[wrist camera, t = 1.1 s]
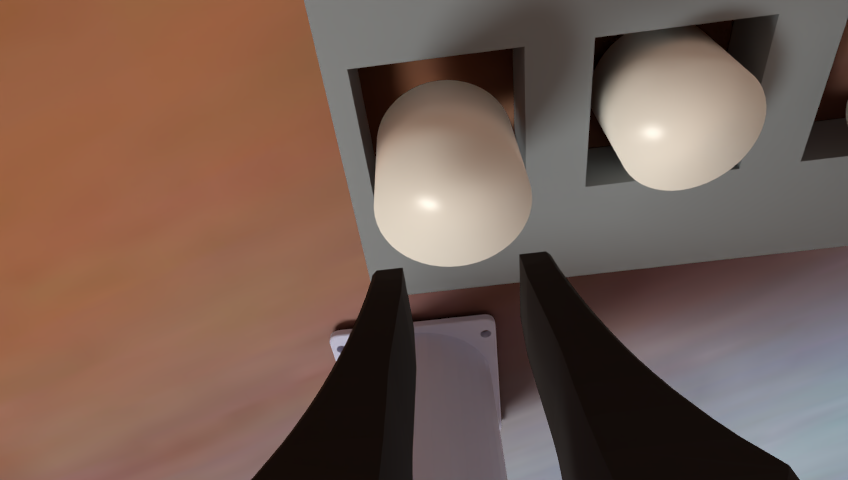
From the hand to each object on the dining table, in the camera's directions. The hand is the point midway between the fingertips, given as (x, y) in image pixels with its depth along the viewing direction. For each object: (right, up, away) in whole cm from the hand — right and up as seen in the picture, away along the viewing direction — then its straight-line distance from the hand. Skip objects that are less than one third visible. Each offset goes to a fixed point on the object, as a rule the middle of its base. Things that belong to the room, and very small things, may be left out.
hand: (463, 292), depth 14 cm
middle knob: (+7, +7, +7) cm, 12 cm away
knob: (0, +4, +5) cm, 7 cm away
